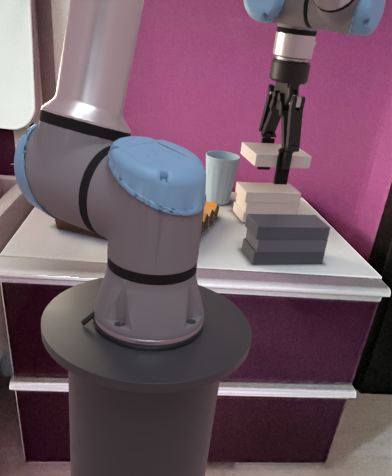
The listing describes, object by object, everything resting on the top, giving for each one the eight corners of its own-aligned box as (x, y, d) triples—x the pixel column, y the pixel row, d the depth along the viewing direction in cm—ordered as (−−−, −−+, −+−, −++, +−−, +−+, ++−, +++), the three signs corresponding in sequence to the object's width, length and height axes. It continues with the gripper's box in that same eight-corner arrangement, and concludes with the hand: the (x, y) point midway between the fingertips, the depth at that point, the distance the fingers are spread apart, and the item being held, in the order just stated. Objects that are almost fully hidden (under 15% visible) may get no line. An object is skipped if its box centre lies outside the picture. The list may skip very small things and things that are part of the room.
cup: (227, 195, 134) (233, 150, 129) (238, 206, 128) (245, 160, 123) (197, 195, 132) (201, 150, 126) (207, 206, 126) (212, 159, 120)
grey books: (251, 264, 102) (258, 226, 98) (240, 249, 107) (246, 213, 103) (322, 264, 106) (331, 227, 102) (308, 249, 111) (316, 214, 107)
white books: (241, 222, 120) (246, 192, 116) (232, 210, 125) (236, 181, 122) (296, 223, 123) (302, 193, 119) (284, 211, 129) (290, 183, 125)
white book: (254, 166, 112) (256, 154, 111) (240, 153, 120) (242, 141, 119) (309, 168, 115) (311, 156, 114) (292, 155, 123) (294, 144, 122)
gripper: (334, 69, 99) (308, 193, 111) (288, 53, 117) (269, 161, 129) (295, 66, 97) (273, 193, 110) (254, 50, 115) (239, 160, 127)
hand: (271, 176), depth 119 cm, fingers closed on white book, 9 cm apart
